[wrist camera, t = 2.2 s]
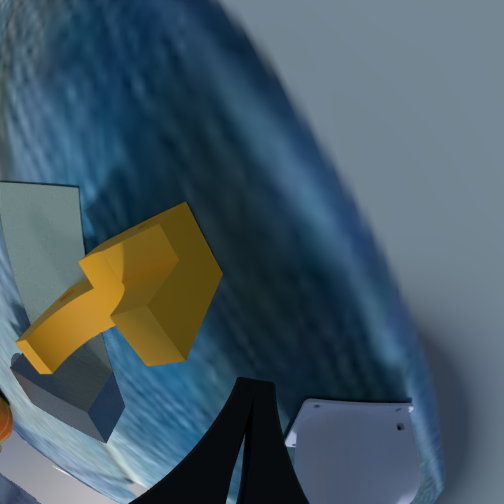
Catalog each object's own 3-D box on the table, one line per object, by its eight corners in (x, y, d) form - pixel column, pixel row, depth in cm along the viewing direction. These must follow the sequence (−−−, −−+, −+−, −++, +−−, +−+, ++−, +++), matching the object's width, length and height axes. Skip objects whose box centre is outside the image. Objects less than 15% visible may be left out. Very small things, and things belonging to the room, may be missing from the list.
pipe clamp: (185, 201, 14) (118, 260, 8) (223, 273, 16) (185, 360, 10) (56, 268, 17) (-2, 318, 12) (87, 316, 19) (40, 374, 13)
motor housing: (79, 187, 15) (19, 216, 10) (125, 406, 24) (106, 443, 20) (-18, 181, 16) (-60, 200, 11) (37, 365, 25) (15, 392, 21)
